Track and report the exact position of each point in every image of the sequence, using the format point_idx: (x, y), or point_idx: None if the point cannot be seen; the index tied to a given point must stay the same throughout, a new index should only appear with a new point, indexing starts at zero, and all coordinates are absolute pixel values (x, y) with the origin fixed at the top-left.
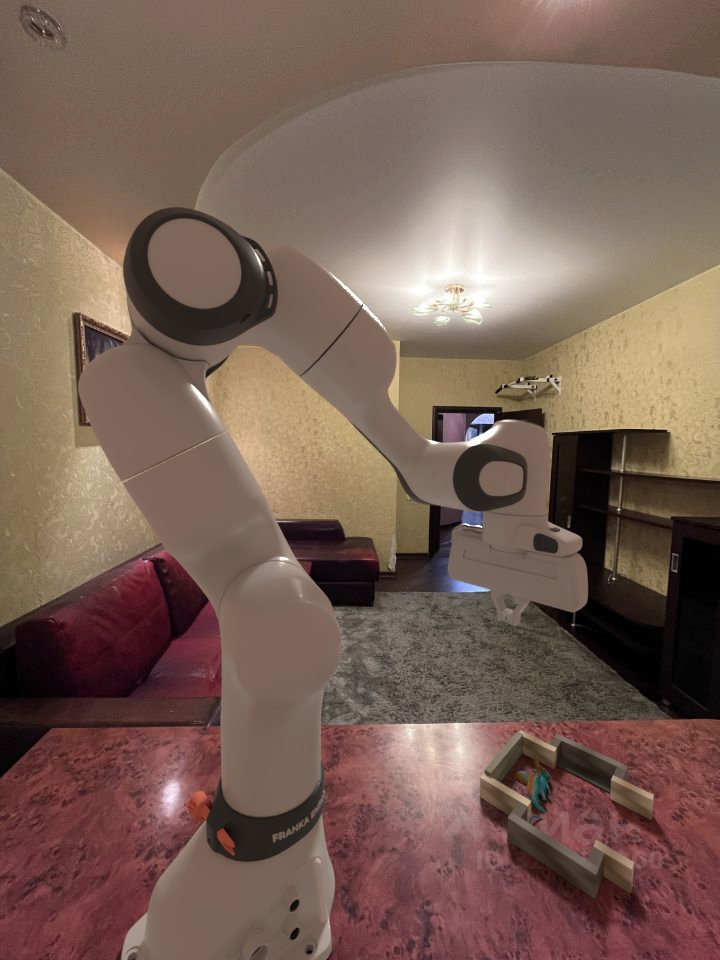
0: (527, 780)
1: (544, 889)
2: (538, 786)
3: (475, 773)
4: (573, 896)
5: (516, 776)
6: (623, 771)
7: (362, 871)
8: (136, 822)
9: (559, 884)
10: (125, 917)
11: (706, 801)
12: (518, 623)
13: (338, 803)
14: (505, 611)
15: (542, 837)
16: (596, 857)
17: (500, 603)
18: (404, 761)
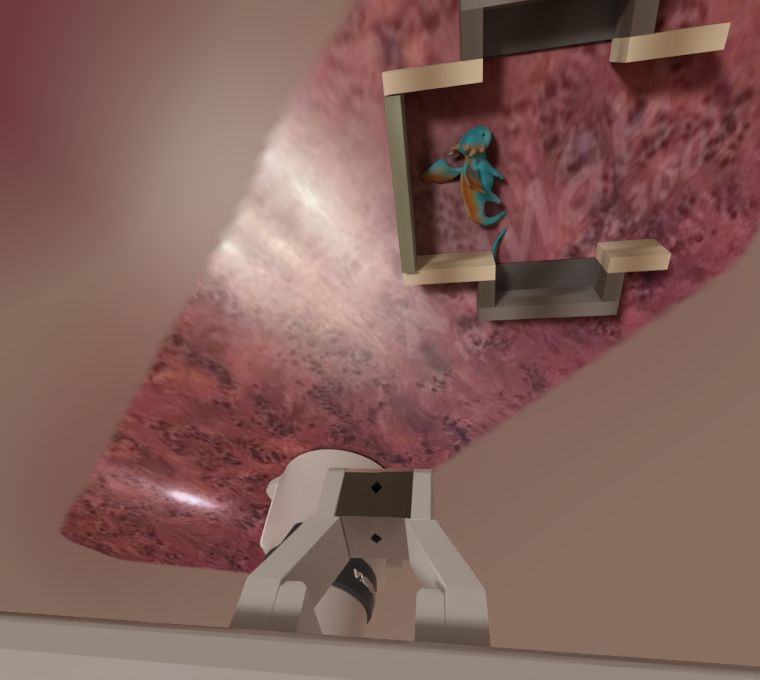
0: (453, 176)
1: (543, 328)
2: (485, 200)
3: (370, 230)
4: None
5: (430, 179)
6: None
7: (378, 436)
8: (209, 521)
9: None
10: None
11: None
12: (432, 483)
13: (291, 407)
14: (370, 554)
15: (534, 314)
16: (613, 287)
17: (324, 577)
18: (277, 301)
